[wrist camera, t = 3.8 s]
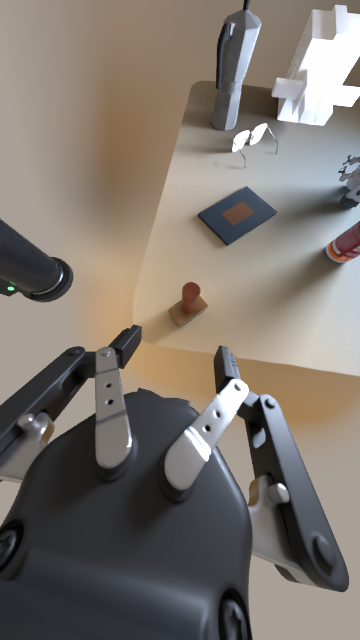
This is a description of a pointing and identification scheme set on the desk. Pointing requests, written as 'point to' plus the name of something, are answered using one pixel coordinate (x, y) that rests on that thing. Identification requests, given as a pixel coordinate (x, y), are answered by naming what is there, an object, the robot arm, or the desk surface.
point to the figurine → (351, 184)
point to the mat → (236, 215)
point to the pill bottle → (345, 245)
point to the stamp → (188, 305)
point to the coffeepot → (233, 64)
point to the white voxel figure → (320, 68)
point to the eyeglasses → (243, 136)
